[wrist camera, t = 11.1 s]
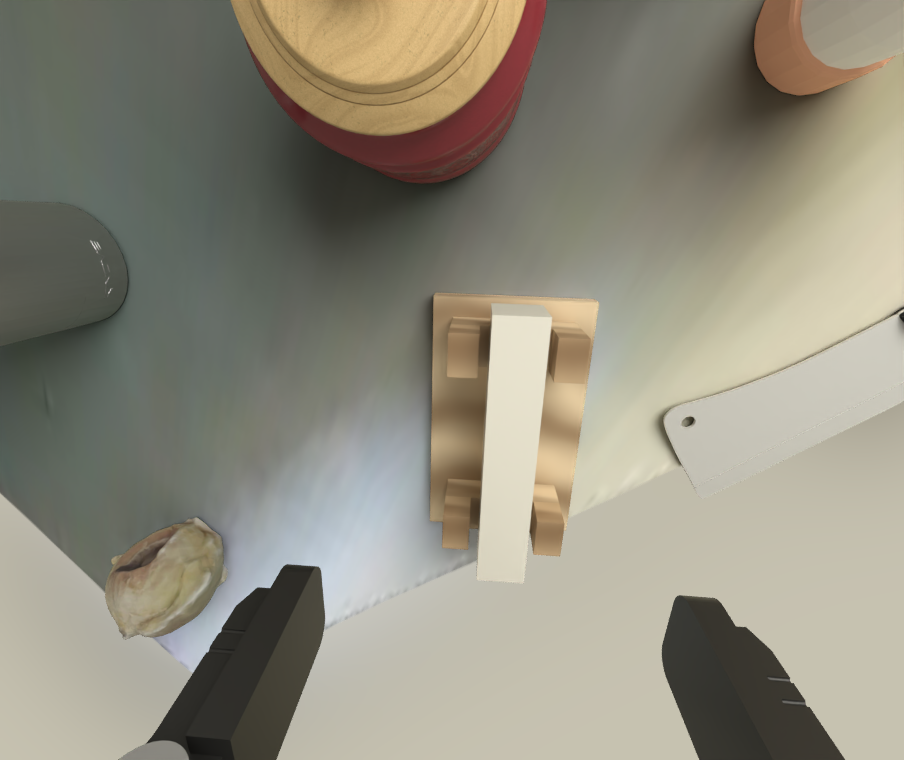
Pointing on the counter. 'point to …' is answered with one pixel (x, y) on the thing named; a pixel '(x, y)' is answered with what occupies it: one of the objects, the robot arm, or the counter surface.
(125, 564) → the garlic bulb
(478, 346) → the wooden plate with pegs
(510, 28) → the canister
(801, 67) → the salt shaker
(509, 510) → the cream white rectangular bar
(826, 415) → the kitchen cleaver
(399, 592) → the counter surface
